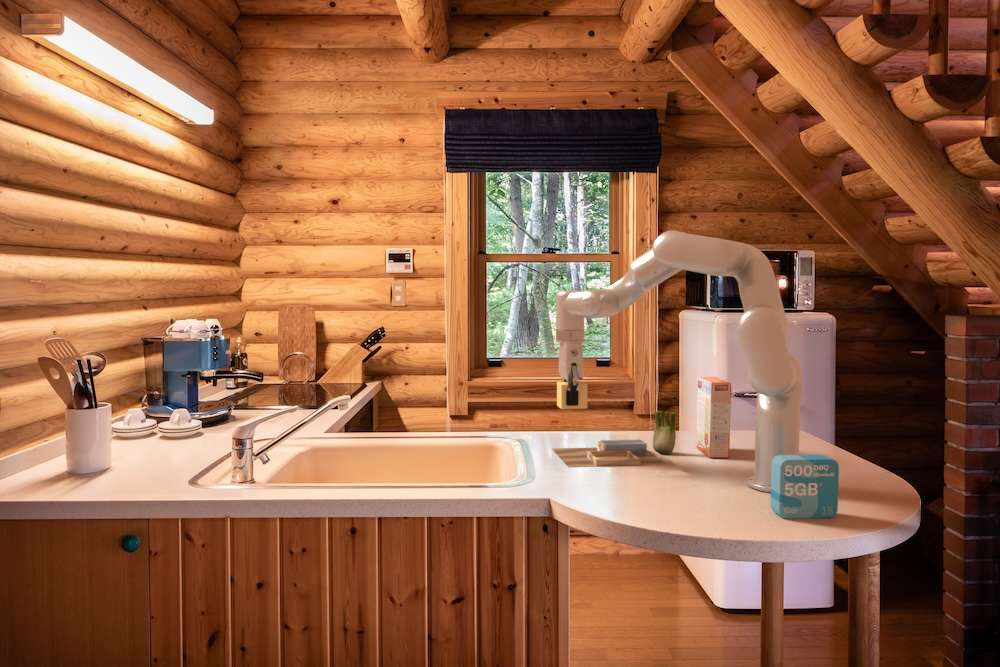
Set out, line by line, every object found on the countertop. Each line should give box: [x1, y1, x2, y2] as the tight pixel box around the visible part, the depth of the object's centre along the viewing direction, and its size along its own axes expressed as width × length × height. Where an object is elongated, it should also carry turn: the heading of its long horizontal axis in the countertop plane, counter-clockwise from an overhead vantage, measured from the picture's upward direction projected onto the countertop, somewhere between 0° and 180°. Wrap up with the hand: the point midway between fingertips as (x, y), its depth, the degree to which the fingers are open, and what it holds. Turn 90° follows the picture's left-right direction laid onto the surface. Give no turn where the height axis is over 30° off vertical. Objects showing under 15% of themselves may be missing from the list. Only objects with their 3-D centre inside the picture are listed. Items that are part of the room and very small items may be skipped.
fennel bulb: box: [652, 410, 677, 455], centre depth 206 cm, size 6×5×12 cm
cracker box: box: [696, 376, 733, 459], centre depth 206 cm, size 14×6×21 cm, turn 179°
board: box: [551, 439, 669, 468], centre depth 197 cm, size 22×26×4 cm
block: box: [556, 380, 588, 410], centre depth 198 cm, size 6×7×6 cm
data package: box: [770, 454, 840, 520], centre depth 149 cm, size 12×4×12 cm, turn 93°
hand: (569, 402), depth 198 cm, fingers closed on block, 6 cm apart
